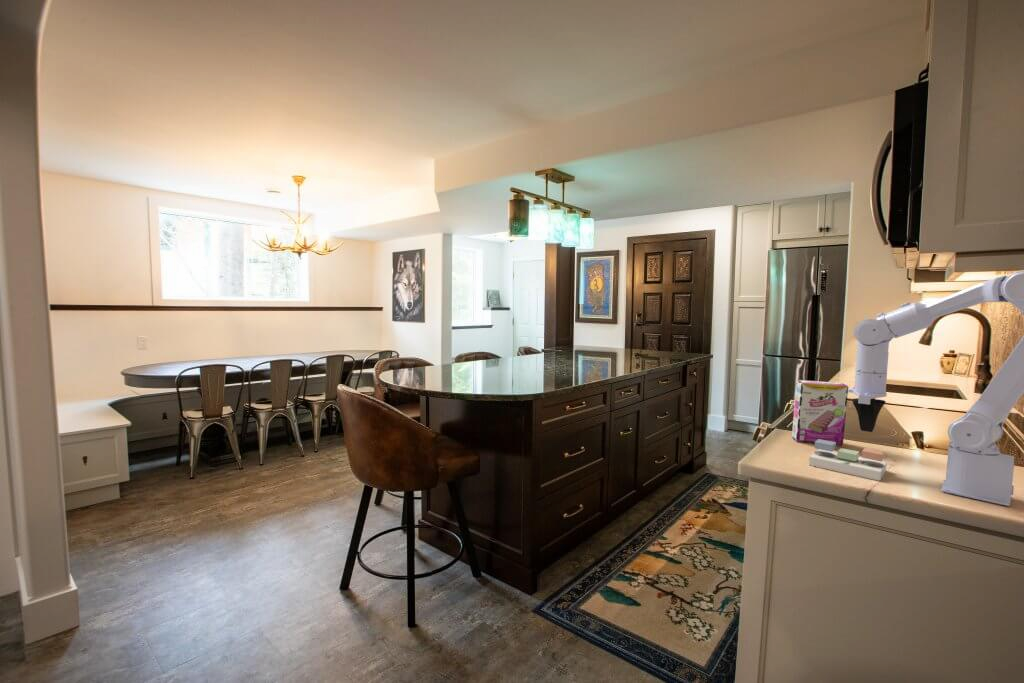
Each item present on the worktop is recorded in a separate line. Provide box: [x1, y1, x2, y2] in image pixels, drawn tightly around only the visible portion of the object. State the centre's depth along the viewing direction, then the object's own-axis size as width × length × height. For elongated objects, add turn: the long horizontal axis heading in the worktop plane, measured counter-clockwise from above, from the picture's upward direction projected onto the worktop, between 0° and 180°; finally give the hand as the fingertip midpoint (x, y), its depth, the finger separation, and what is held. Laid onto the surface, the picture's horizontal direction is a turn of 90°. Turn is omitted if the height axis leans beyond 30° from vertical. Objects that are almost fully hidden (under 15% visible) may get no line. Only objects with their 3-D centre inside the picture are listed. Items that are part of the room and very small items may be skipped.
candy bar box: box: [791, 379, 849, 446], centre depth 127 cm, size 11×5×16 cm, turn 74°
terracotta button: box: [861, 447, 886, 462], centre depth 103 cm, size 4×4×2 cm
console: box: [808, 449, 888, 482], centre depth 107 cm, size 13×9×2 cm
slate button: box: [814, 439, 837, 452], centre depth 110 cm, size 4×4×2 cm
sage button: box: [836, 447, 860, 461], centre depth 107 cm, size 4×4×2 cm
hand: (866, 430), depth 107 cm, fingers closed
